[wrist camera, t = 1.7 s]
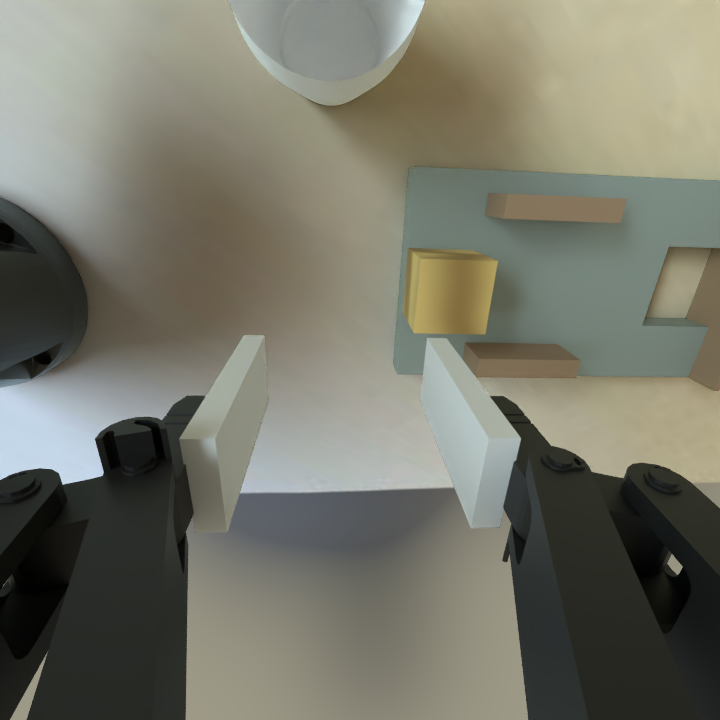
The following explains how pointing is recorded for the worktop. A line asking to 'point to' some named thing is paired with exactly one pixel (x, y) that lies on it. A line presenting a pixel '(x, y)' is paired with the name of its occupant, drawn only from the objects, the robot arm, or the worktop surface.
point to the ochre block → (448, 291)
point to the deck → (570, 271)
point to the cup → (328, 42)
